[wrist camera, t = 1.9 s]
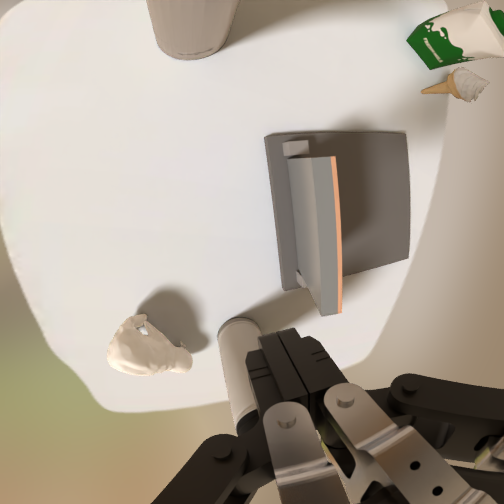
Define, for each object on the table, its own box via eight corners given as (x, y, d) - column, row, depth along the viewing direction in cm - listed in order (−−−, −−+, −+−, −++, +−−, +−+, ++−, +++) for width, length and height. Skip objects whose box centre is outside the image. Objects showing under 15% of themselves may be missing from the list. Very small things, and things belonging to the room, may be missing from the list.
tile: (286, 159, 31) (311, 158, 20) (303, 157, 31) (335, 156, 20) (298, 268, 36) (321, 316, 24) (312, 265, 36) (341, 312, 24)
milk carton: (443, 55, 31) (520, 40, 13) (430, 76, 33) (519, 63, 14) (415, 20, 29) (491, -7, 10) (400, 39, 30) (487, 8, 11)
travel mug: (268, 323, 39) (323, 430, 20) (246, 356, 40) (283, 465, 21) (230, 308, 37) (266, 424, 18) (209, 343, 38) (229, 461, 19)
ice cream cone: (409, 97, 33) (481, 86, 19) (411, 71, 32) (478, 55, 18) (430, 112, 35) (499, 108, 20) (432, 86, 33) (497, 77, 19)
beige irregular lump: (115, 339, 26) (208, 376, 31) (124, 300, 33) (199, 335, 38) (99, 373, 27) (184, 404, 32) (108, 333, 34) (179, 363, 39)
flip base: (264, 137, 31) (271, 134, 28) (400, 134, 35) (415, 133, 31) (282, 287, 38) (290, 298, 35) (403, 256, 41) (416, 262, 38)
